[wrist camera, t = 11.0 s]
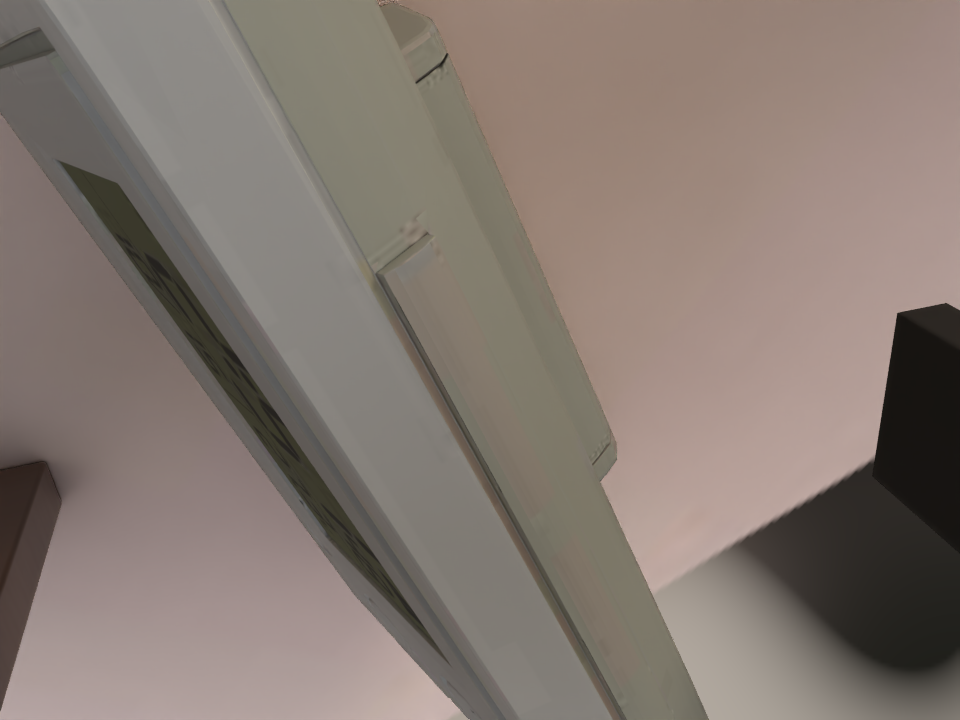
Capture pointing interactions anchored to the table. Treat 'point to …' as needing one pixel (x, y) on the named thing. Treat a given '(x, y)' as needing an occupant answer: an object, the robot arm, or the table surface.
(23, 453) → the table surface
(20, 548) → the walnut rack
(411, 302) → the digital clock
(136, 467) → the table surface
